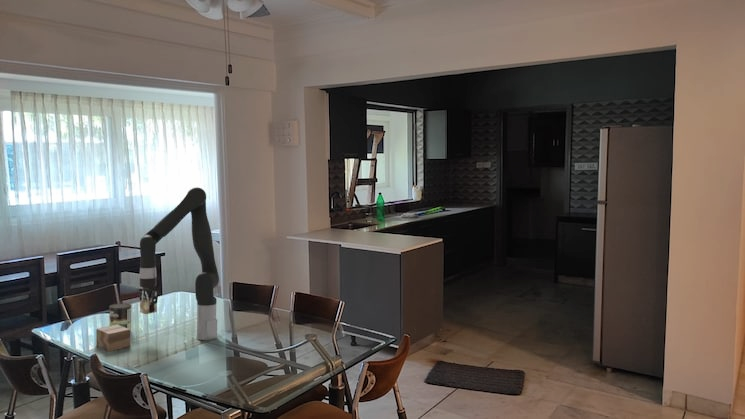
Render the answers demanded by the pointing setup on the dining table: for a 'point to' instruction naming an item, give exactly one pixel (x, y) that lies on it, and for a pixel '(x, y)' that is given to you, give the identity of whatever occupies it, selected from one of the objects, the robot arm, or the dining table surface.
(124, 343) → the walnut stand
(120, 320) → the coffee can
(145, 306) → the birch cube
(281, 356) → the dining table surface
